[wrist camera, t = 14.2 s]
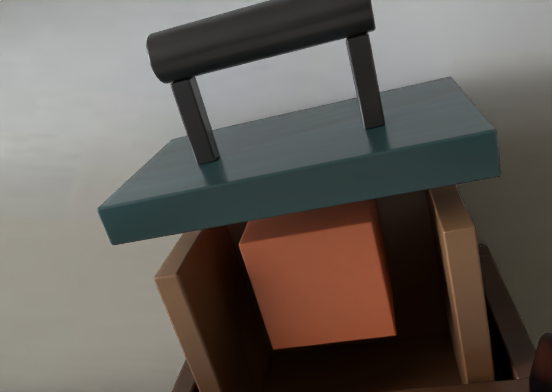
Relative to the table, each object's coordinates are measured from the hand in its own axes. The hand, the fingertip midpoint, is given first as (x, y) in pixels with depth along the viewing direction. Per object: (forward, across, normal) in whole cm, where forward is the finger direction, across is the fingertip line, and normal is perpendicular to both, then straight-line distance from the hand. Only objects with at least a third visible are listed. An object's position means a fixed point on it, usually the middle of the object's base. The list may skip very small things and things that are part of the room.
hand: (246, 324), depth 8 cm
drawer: (+12, -1, +3) cm, 12 cm away
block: (+10, -1, +4) cm, 11 cm away
